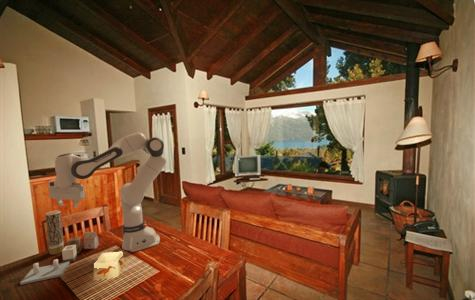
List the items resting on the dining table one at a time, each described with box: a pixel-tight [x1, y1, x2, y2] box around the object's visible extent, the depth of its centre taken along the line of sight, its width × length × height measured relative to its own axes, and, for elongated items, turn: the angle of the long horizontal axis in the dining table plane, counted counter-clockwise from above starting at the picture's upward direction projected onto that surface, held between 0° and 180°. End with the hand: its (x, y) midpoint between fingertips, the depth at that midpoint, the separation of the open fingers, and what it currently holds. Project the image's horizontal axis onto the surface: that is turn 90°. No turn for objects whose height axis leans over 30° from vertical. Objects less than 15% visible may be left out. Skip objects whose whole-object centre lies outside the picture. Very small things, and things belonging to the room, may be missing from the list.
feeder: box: [66, 236, 83, 255], centre depth 127 cm, size 6×5×8 cm
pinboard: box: [19, 258, 71, 286], centre depth 109 cm, size 16×11×6 cm
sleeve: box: [61, 245, 78, 263], centre depth 121 cm, size 5×5×7 cm
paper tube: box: [45, 209, 65, 256], centre depth 127 cm, size 7×7×25 cm
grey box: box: [82, 231, 99, 250], centre depth 133 cm, size 4×7×10 cm, turn 93°
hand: (68, 206), depth 120 cm, fingers open, 8 cm apart
